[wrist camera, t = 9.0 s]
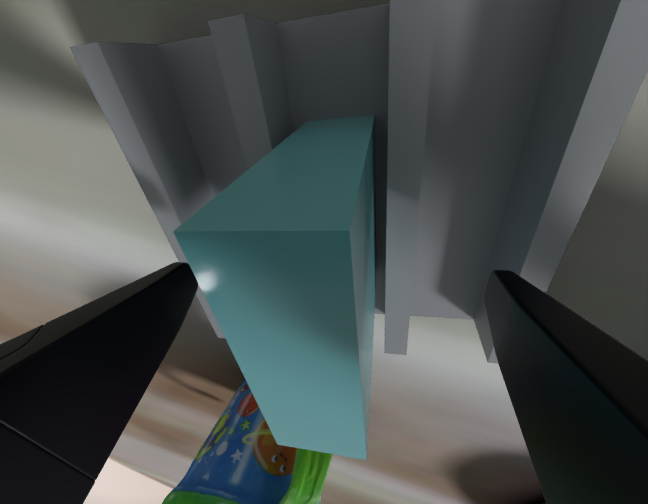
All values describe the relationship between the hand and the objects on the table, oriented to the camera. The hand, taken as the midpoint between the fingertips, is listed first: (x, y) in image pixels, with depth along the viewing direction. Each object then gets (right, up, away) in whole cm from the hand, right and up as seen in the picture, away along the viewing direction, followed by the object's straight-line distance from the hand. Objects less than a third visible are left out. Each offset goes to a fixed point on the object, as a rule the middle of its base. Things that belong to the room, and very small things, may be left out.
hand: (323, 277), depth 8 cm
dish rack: (+1, +3, +5) cm, 6 cm away
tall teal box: (+1, +3, +4) cm, 5 cm away
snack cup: (-4, -12, +17) cm, 21 cm away
